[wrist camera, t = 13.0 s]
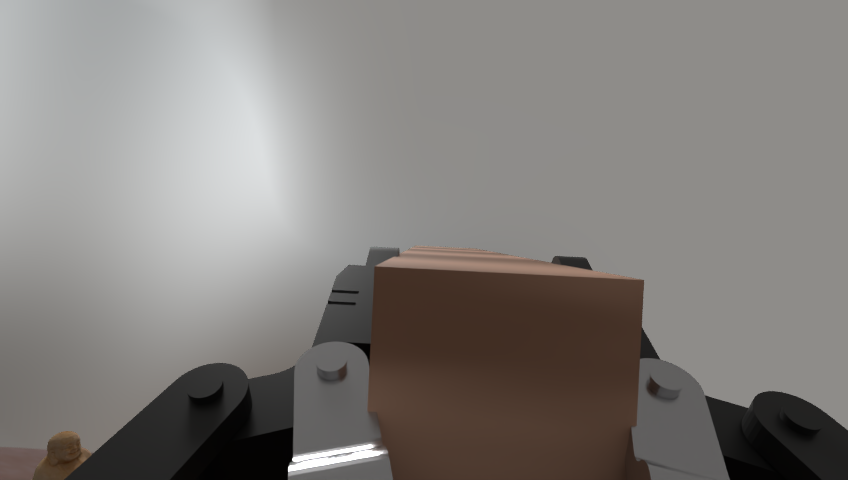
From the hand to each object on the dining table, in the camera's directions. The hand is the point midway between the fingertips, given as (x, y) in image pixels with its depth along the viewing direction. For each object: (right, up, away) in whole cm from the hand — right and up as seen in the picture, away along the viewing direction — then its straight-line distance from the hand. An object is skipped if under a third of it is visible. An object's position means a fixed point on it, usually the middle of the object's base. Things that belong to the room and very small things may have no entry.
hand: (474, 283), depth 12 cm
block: (0, -3, +7) cm, 8 cm away
